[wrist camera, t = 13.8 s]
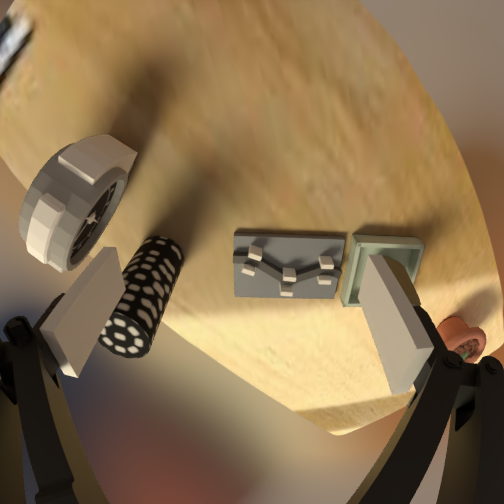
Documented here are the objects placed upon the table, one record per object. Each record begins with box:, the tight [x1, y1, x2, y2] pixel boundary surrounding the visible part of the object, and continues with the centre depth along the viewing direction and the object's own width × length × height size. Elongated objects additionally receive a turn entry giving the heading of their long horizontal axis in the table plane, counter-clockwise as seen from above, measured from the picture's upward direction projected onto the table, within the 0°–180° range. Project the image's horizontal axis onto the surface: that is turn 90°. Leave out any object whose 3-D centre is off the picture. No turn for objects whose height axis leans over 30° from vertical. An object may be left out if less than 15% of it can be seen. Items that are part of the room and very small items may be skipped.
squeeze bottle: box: [383, 256, 421, 306], centre depth 44 cm, size 8×8×18 cm
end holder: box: [340, 234, 425, 307], centre depth 50 cm, size 13×13×3 cm
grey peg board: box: [233, 233, 345, 299], centre depth 50 cm, size 12×18×4 cm, turn 89°
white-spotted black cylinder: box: [97, 236, 184, 358], centre depth 43 cm, size 8×8×20 cm
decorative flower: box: [437, 317, 486, 363], centre depth 46 cm, size 15×14×30 cm
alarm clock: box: [19, 135, 137, 272], centre depth 37 cm, size 18×8×20 cm, turn 144°
